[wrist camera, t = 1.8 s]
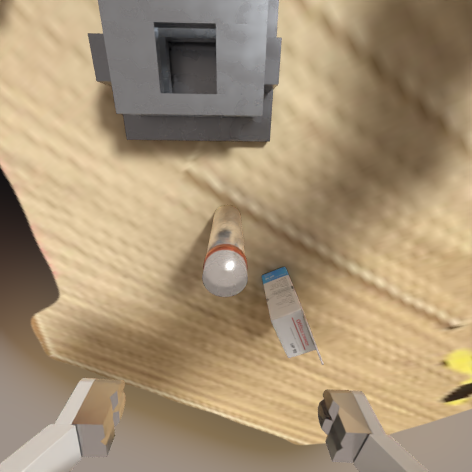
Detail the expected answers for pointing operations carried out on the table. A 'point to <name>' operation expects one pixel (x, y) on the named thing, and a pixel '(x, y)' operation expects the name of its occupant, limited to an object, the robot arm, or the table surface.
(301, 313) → the ink box
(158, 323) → the table surface
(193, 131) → the collar stand
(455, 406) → the table surface
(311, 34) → the table surface
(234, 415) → the table surface
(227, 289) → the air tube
